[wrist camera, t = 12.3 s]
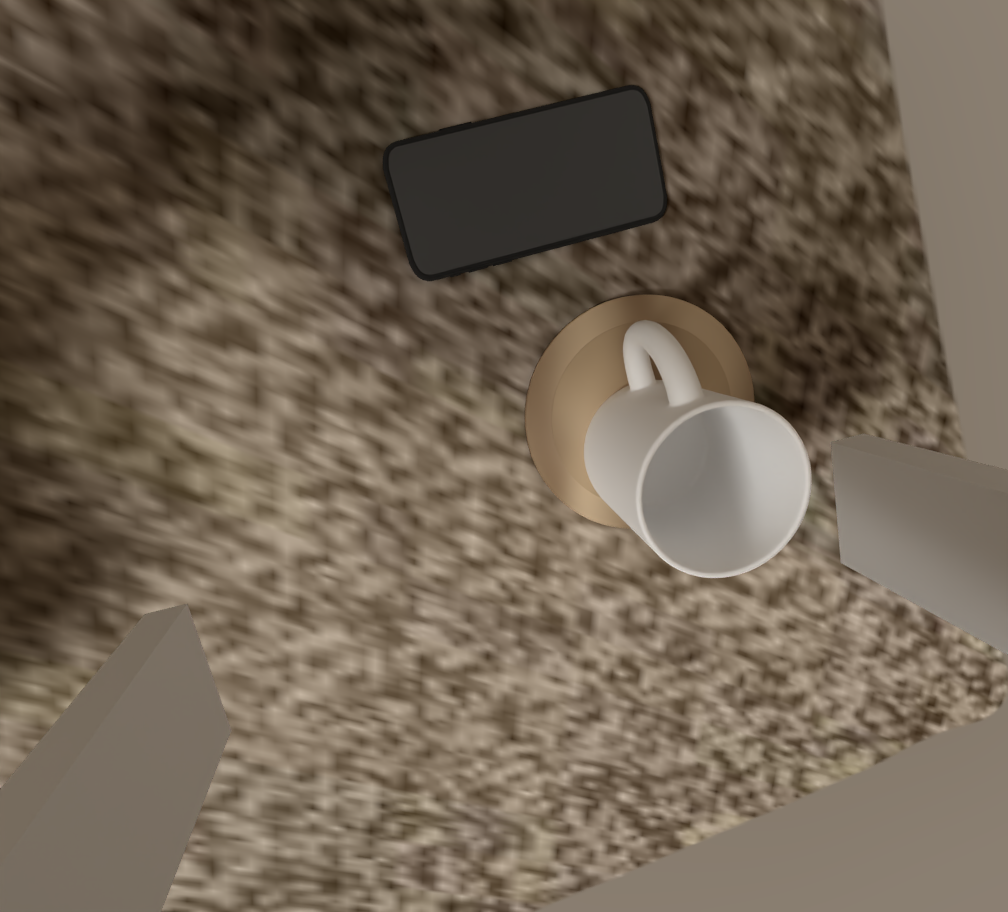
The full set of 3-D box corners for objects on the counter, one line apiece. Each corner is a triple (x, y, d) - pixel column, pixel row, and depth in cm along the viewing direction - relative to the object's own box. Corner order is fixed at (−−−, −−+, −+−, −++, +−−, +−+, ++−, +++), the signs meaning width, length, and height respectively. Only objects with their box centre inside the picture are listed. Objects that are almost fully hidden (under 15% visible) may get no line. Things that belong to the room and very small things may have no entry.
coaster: (549, 549, 41) (551, 553, 40) (502, 323, 38) (504, 323, 37) (762, 496, 42) (767, 499, 41) (734, 272, 39) (740, 271, 38)
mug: (544, 341, 37) (592, 352, 27) (680, 296, 38) (775, 290, 28) (601, 531, 40) (662, 603, 30) (726, 487, 41) (827, 543, 31)
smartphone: (673, 218, 37) (415, 286, 36) (666, 220, 38) (415, 286, 37) (647, 77, 36) (375, 143, 34) (641, 83, 36) (376, 148, 35)
